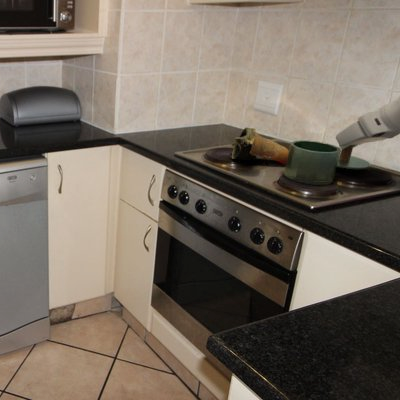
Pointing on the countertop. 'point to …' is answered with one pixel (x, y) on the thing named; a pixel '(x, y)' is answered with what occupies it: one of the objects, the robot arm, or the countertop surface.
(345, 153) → the tin lid
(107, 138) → the countertop surface
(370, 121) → the robot arm
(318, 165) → the tin
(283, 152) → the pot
